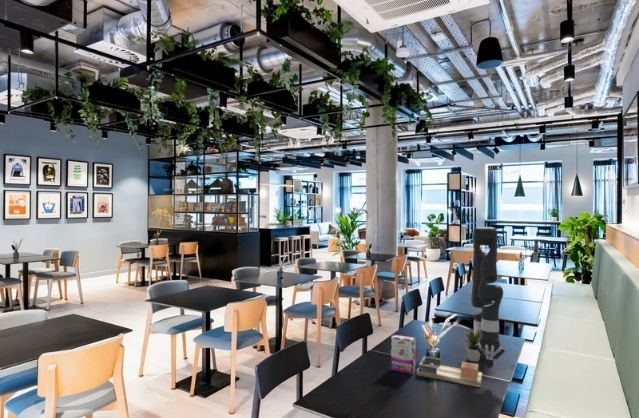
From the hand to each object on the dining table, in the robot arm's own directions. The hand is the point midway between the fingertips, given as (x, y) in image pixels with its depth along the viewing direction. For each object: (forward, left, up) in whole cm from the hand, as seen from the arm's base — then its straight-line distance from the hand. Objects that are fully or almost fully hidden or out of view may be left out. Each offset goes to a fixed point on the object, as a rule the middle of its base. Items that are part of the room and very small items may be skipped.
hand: (489, 367), depth 179 cm
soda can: (-5, -38, -8) cm, 39 cm away
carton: (0, -9, -6) cm, 10 cm away
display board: (0, -18, -8) cm, 19 cm away
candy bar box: (+4, -39, -8) cm, 39 cm away
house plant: (-25, -9, -8) cm, 28 cm away
